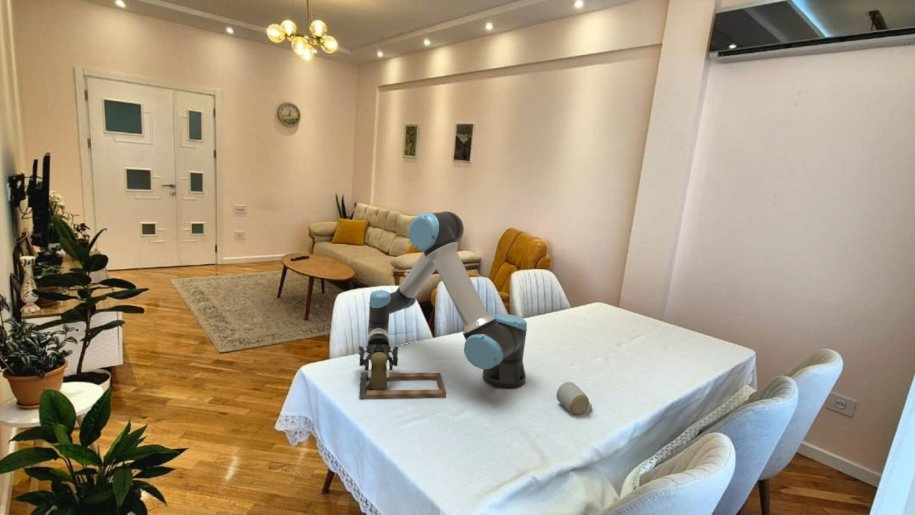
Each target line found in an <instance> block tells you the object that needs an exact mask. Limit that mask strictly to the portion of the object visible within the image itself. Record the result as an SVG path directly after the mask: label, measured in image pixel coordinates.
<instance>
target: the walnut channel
mask: <svg viewBox="0 0 915 515" xmlns="http://www.w3.org/2000/svg"><path fill="white" fill-rule="evenodd" d="M386 377H387V375H386ZM369 379H370V377H368V372H367V382H369ZM392 380H394V381H436V383H437V387H438V388H437V389H382V390H373V389H371V390H370V389H369V390H367V389H366V399H365V400H385V399H386V400H388V399H389V400H390V399H391V400H393V399H439V398H441V399H443V398H444V399H446V398H447V390H446V387H445V384H444V381H443V377H442V374H441V372H389V377H387V382H388V381H390V382H391V381H392ZM394 381H393V382H394Z"/></svg>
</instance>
